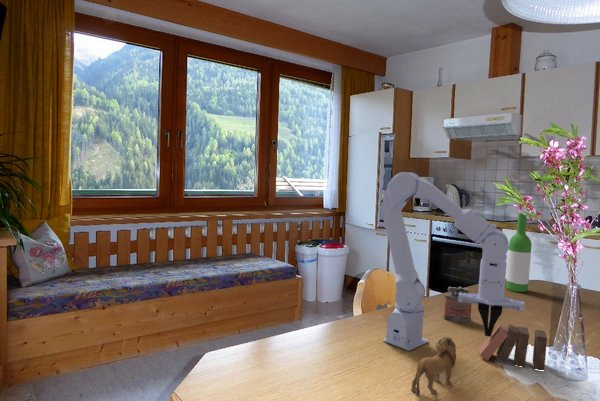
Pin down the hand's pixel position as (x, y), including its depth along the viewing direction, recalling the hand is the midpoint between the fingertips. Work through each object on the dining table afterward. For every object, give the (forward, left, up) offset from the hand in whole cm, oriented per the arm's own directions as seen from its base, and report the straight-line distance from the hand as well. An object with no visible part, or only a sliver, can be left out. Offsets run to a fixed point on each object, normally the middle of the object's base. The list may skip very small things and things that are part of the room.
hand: (487, 335), depth 106 cm
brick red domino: (0, +1, -5) cm, 5 cm away
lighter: (+20, +18, -6) cm, 27 cm away
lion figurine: (-23, +1, -6) cm, 24 cm away
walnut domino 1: (+1, -3, -5) cm, 6 cm away
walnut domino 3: (+4, -10, -5) cm, 12 cm away
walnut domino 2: (+3, -7, -5) cm, 9 cm away
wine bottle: (+72, +20, -6) cm, 74 cm away
